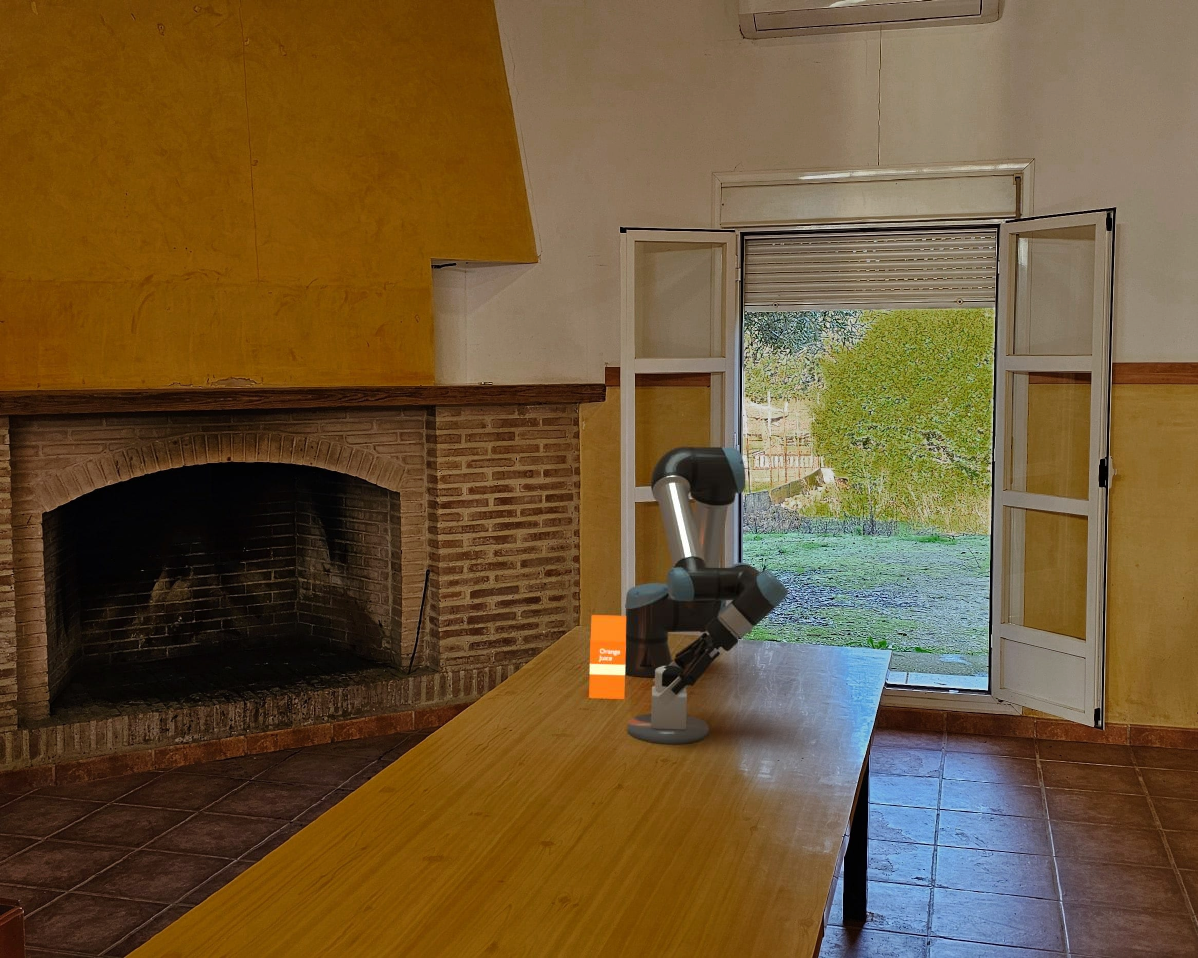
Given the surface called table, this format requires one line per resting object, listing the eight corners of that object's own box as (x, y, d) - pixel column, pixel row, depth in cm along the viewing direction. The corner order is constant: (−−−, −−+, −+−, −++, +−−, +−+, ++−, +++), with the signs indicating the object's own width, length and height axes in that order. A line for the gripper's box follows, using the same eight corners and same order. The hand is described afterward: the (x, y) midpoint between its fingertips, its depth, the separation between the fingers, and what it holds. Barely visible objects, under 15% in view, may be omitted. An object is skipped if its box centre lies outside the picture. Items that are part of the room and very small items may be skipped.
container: (685, 720, 254) (686, 663, 253) (686, 730, 246) (687, 672, 245) (651, 718, 254) (652, 662, 253) (650, 729, 247) (652, 671, 246)
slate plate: (611, 730, 250) (611, 723, 250) (663, 714, 263) (663, 708, 263) (673, 749, 238) (673, 742, 238) (724, 732, 251) (724, 725, 251)
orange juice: (624, 698, 276) (626, 619, 274) (588, 698, 276) (590, 618, 274) (624, 690, 283) (626, 612, 282) (589, 689, 284) (591, 611, 282)
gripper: (748, 653, 237) (676, 721, 237) (731, 627, 261) (666, 689, 262) (724, 627, 236) (651, 696, 237) (709, 604, 261) (644, 666, 262)
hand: (659, 692), depth 250 cm, fingers open, 13 cm apart
